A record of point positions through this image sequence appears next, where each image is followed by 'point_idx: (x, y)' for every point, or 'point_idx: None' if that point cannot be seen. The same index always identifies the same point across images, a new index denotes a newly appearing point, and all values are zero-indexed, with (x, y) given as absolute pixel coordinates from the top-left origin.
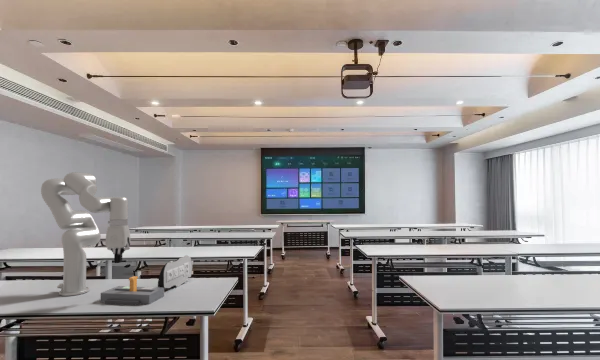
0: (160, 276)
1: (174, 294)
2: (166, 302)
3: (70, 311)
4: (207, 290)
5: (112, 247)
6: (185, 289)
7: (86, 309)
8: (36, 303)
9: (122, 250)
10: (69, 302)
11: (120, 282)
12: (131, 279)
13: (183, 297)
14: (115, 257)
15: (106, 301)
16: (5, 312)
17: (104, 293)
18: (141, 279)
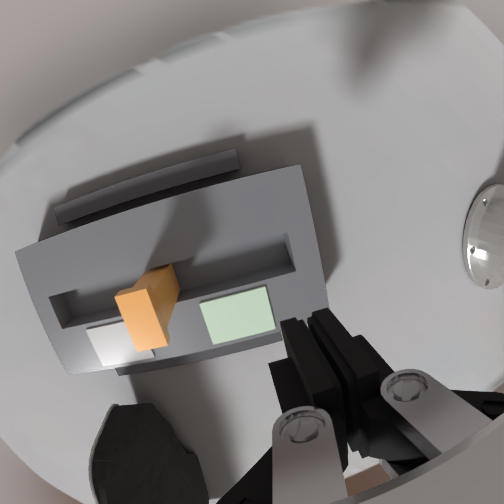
0: (117, 437)
1: (72, 383)
2: (8, 288)
3: (287, 24)
4: (35, 436)
5: (496, 426)
6: None
7: (243, 61)
8: (488, 89)
9: (238, 499)
10: (414, 119)
11: None
12: (127, 290)
13: (16, 359)
14: (339, 348)
15: (225, 151)
16: (465, 6)
17: (273, 170)
18: None
